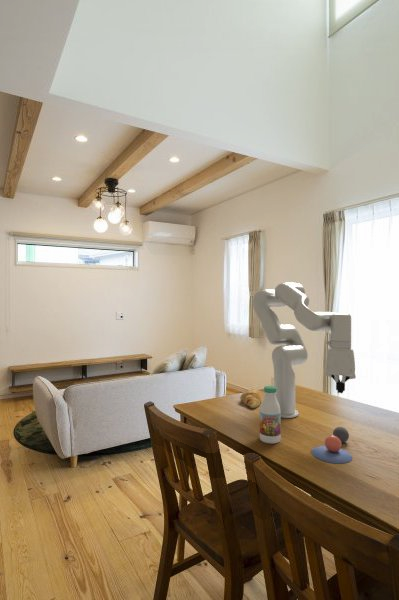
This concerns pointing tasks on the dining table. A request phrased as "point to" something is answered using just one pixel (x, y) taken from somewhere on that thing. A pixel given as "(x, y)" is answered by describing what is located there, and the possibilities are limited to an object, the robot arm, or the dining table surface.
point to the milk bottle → (270, 417)
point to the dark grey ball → (341, 434)
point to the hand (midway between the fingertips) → (340, 392)
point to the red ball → (333, 443)
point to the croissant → (251, 398)
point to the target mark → (331, 455)
